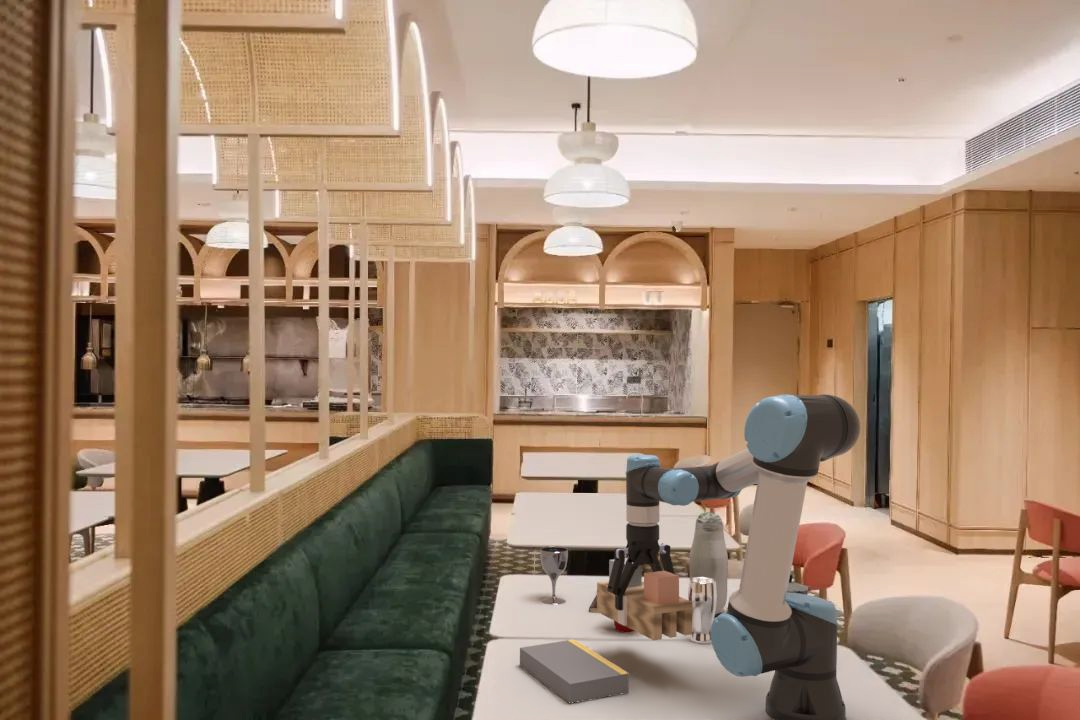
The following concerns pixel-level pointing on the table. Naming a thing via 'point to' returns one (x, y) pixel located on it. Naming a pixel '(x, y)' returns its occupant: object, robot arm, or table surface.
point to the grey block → (636, 577)
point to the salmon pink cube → (661, 587)
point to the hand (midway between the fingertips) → (642, 620)
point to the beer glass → (702, 607)
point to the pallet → (647, 612)
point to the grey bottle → (710, 554)
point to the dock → (574, 670)
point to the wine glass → (553, 568)
